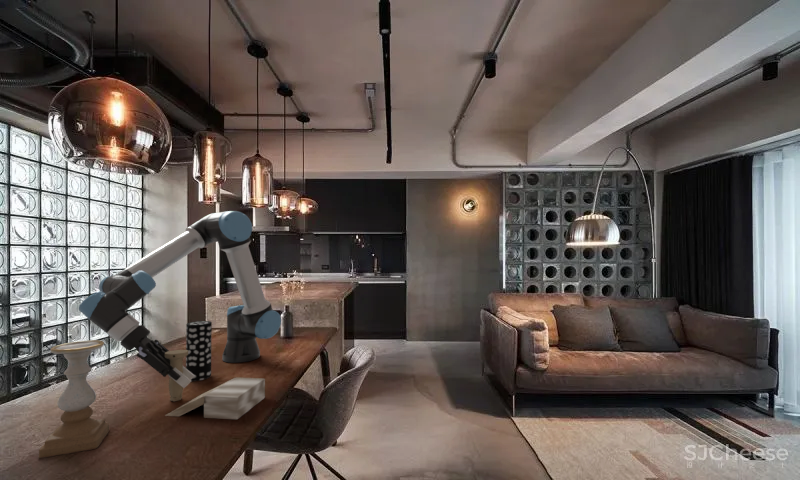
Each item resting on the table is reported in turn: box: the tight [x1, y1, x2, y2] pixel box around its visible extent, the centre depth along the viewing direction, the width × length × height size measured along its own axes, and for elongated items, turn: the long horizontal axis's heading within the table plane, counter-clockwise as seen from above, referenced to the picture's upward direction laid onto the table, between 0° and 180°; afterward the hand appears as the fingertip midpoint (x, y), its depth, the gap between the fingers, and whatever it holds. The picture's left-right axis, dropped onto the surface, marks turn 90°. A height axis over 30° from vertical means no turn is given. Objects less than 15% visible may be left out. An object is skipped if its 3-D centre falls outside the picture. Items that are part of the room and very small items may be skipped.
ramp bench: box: [164, 377, 266, 420], centre depth 117 cm, size 16×22×8 cm
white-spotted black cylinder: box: [185, 320, 213, 382], centre depth 144 cm, size 8×8×20 cm
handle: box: [165, 349, 188, 402], centre depth 122 cm, size 5×6×15 cm
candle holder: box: [38, 339, 110, 459], centre depth 95 cm, size 11×11×24 cm
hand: (189, 381), depth 123 cm, fingers open, 4 cm apart
